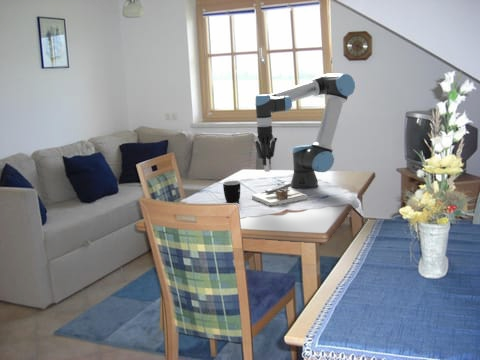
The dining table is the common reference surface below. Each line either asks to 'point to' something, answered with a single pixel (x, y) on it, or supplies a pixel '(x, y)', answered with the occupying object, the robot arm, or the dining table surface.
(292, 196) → the console
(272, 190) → the rocker
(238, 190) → the mug
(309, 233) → the dining table surface
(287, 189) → the slider sage
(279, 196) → the slider walnut
